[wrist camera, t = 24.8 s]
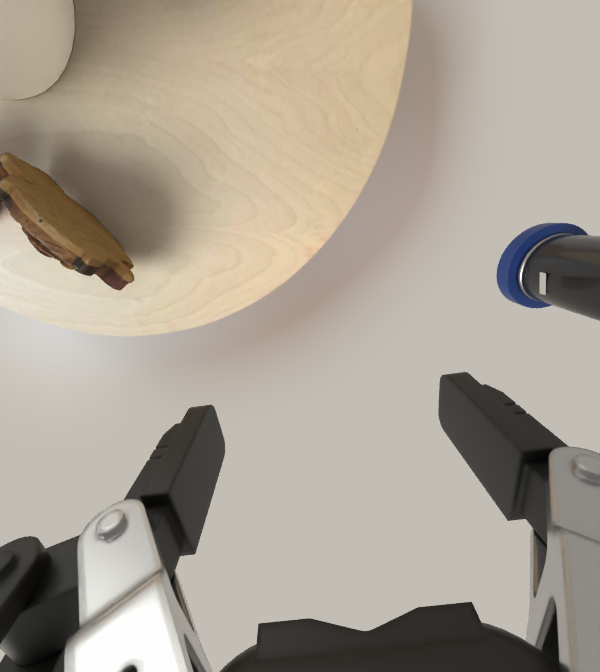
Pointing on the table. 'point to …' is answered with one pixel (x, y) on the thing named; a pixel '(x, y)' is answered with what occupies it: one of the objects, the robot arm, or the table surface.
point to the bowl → (34, 45)
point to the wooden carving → (61, 224)
